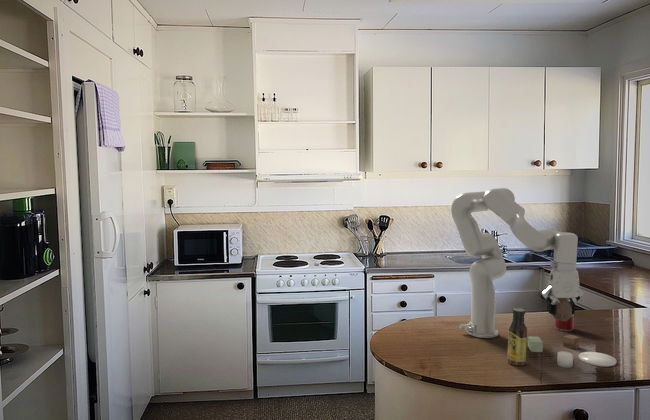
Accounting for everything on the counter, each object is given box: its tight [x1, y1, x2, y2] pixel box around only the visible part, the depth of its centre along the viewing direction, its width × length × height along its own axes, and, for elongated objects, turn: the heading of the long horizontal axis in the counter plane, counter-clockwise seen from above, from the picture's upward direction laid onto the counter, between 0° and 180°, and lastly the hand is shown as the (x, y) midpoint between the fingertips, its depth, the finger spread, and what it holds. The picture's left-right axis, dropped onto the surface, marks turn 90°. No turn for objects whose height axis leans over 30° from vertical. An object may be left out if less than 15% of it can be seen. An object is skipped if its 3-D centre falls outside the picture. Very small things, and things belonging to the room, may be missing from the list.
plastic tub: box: [556, 350, 574, 369], centre depth 180 cm, size 5×5×4 cm
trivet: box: [578, 351, 617, 368], centre depth 184 cm, size 12×12×1 cm
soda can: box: [554, 299, 575, 332], centre depth 218 cm, size 7×7×12 cm
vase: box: [552, 298, 572, 321], centre depth 187 cm, size 7×7×9 cm
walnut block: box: [562, 334, 580, 350], centre depth 197 cm, size 4×4×4 cm
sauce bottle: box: [506, 307, 528, 366], centre depth 181 cm, size 6×6×20 cm
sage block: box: [527, 335, 544, 353], centre depth 195 cm, size 4×6×4 cm, turn 171°
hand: (561, 313), depth 187 cm, fingers closed on vase, 6 cm apart
